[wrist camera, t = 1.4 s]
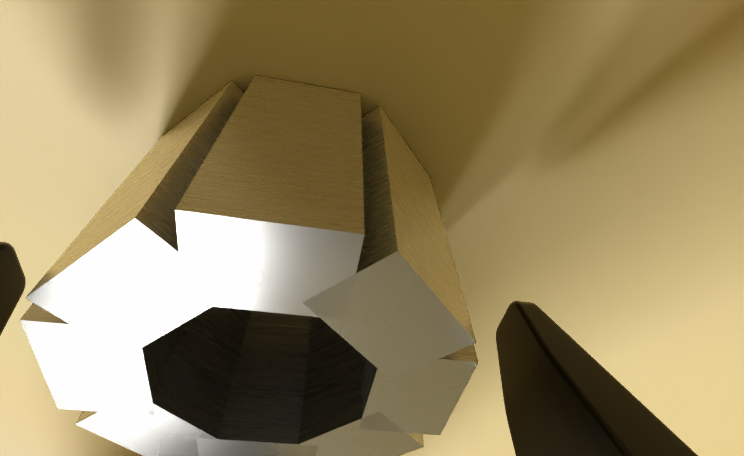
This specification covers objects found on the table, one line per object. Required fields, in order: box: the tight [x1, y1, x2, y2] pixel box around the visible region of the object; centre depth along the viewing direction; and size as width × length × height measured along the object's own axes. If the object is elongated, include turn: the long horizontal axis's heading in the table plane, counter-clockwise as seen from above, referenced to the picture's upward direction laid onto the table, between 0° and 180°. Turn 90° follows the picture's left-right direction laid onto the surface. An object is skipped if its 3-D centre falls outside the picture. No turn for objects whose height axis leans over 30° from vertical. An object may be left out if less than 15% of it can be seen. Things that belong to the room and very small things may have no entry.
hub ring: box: [20, 75, 478, 456], centre depth 8 cm, size 6×6×4 cm
